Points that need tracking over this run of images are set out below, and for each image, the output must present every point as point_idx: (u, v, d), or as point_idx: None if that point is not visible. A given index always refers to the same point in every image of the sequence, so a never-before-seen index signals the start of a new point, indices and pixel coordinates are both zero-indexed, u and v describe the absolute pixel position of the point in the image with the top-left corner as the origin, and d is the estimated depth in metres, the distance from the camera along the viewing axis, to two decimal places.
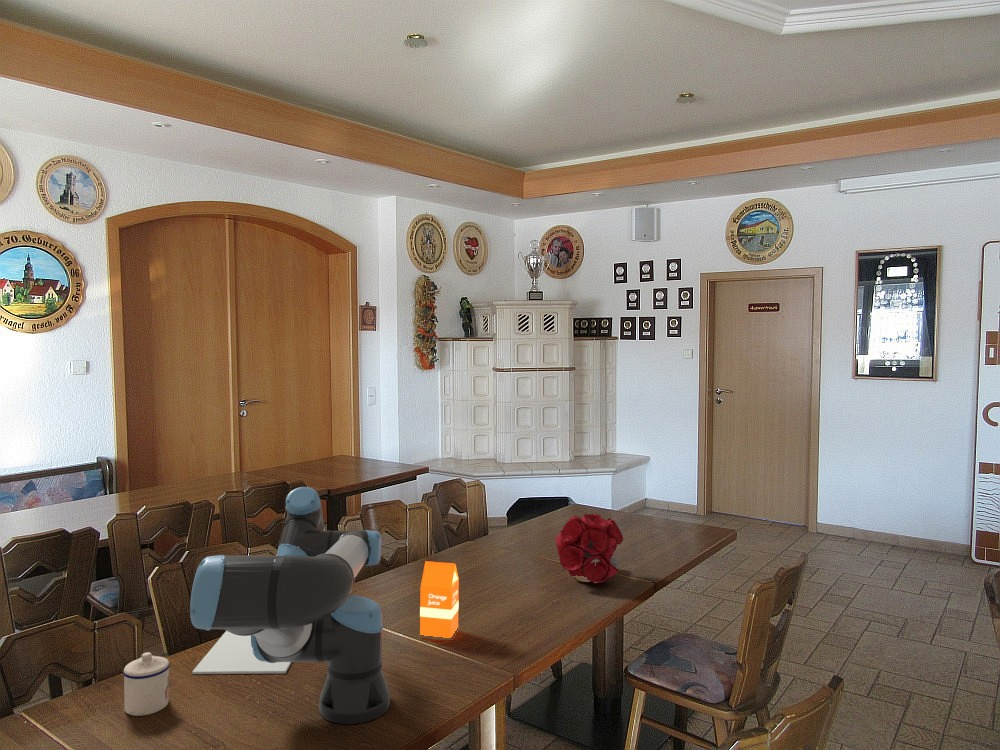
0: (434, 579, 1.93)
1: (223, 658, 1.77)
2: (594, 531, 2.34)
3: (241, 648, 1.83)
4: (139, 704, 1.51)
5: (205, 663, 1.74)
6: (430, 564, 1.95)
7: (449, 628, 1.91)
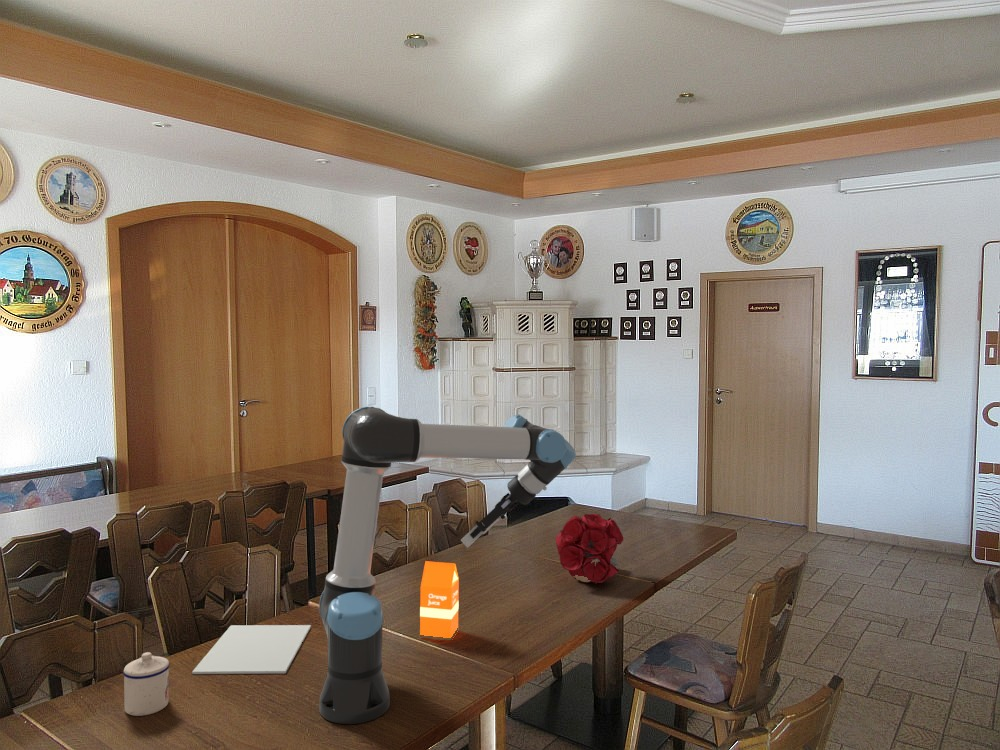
0: (434, 579, 1.93)
1: (223, 658, 1.77)
2: (594, 531, 2.34)
3: (241, 648, 1.83)
4: (139, 704, 1.51)
5: (205, 663, 1.74)
6: (430, 564, 1.95)
7: (449, 628, 1.91)
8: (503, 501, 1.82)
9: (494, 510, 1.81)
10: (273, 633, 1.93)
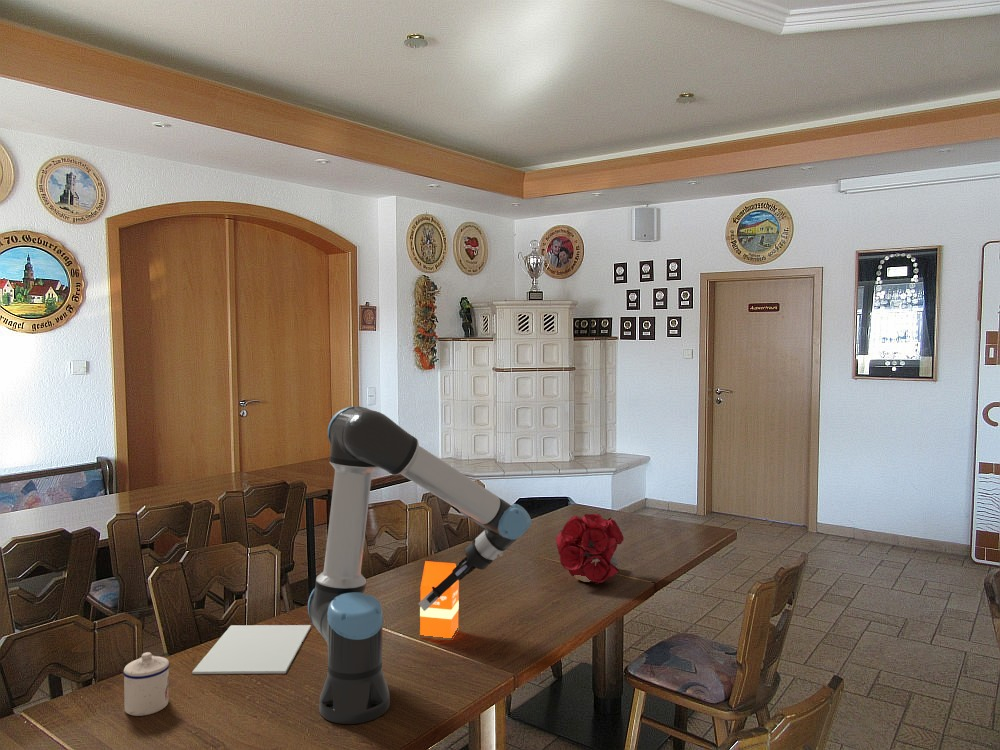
0: (434, 579, 1.93)
1: (223, 658, 1.77)
2: (594, 531, 2.34)
3: (241, 648, 1.83)
4: (139, 704, 1.51)
5: (205, 663, 1.74)
6: (430, 564, 1.95)
7: (449, 628, 1.91)
8: (456, 569, 1.86)
9: (448, 577, 1.87)
10: (273, 633, 1.93)
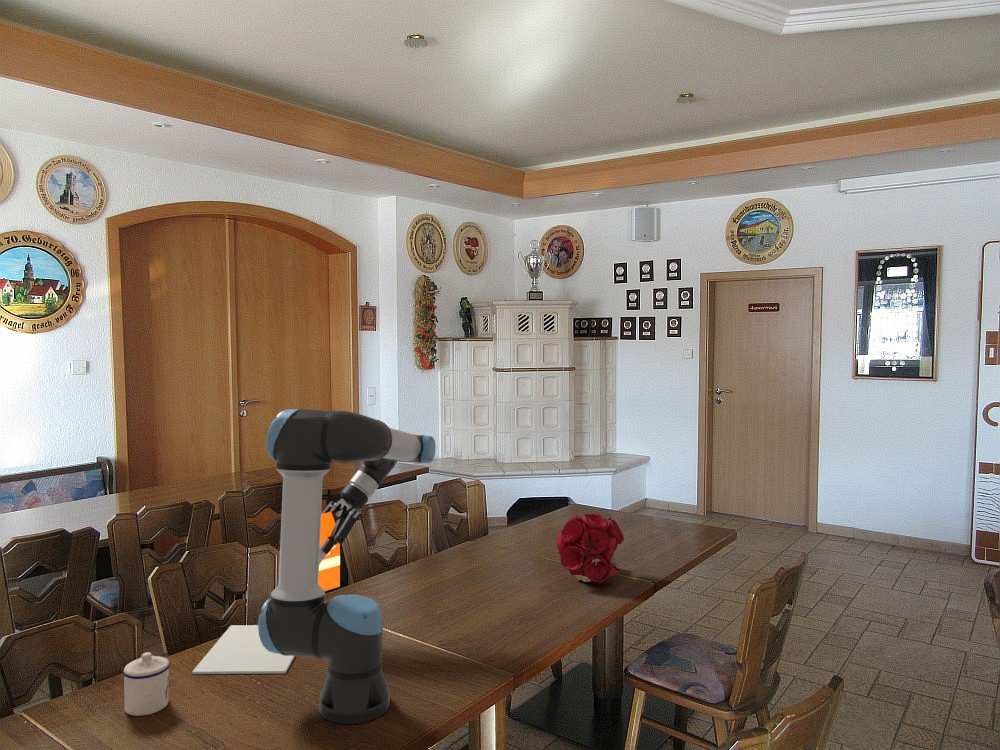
0: (321, 531, 1.91)
1: (223, 658, 1.77)
2: (595, 531, 2.34)
3: (241, 648, 1.83)
4: (139, 704, 1.51)
5: (205, 663, 1.74)
6: None
7: (338, 574, 1.94)
8: (355, 512, 1.93)
9: (348, 522, 1.92)
10: None
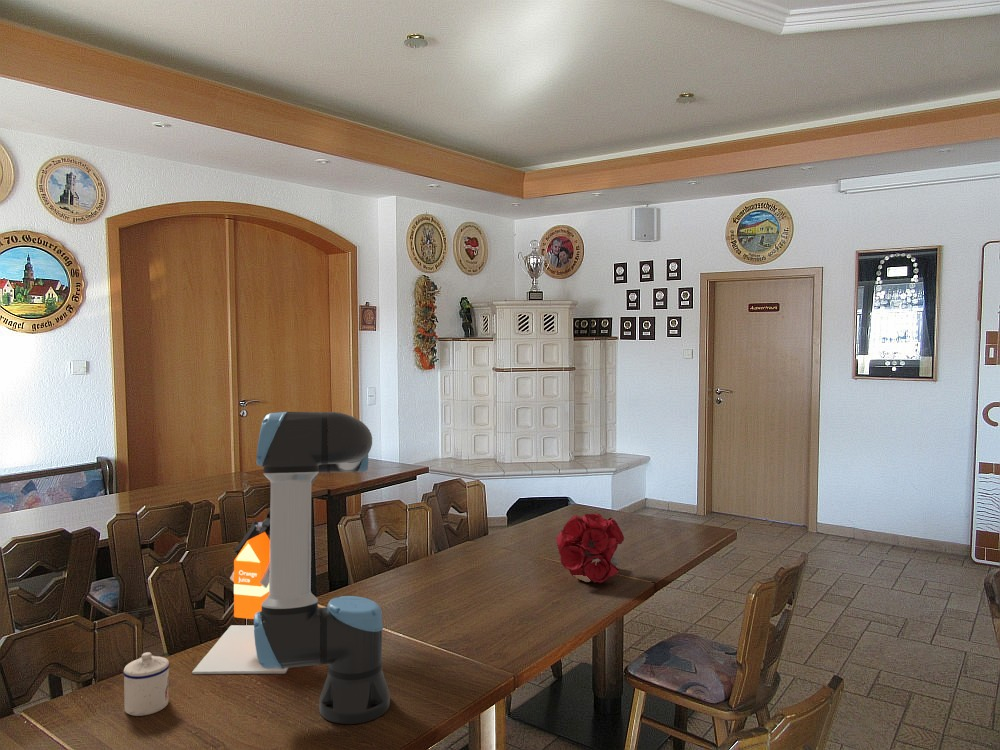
0: (264, 552, 1.83)
1: (223, 658, 1.77)
2: (595, 531, 2.35)
3: (241, 648, 1.83)
4: (139, 704, 1.51)
5: (205, 663, 1.74)
6: (252, 541, 1.81)
7: None
8: None
9: None
10: None
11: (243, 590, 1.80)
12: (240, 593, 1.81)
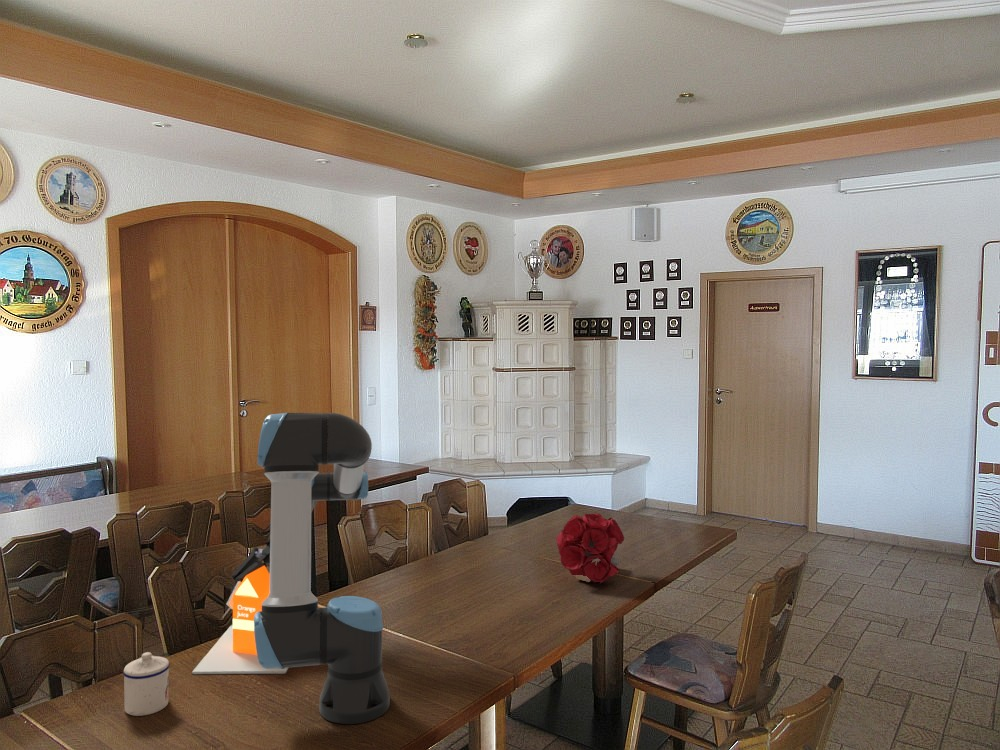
0: (262, 587, 1.83)
1: (223, 658, 1.77)
2: (595, 530, 2.35)
3: None
4: (139, 704, 1.51)
5: (205, 663, 1.74)
6: (250, 576, 1.81)
7: None
8: None
9: None
10: None
11: (242, 625, 1.80)
12: (239, 628, 1.81)
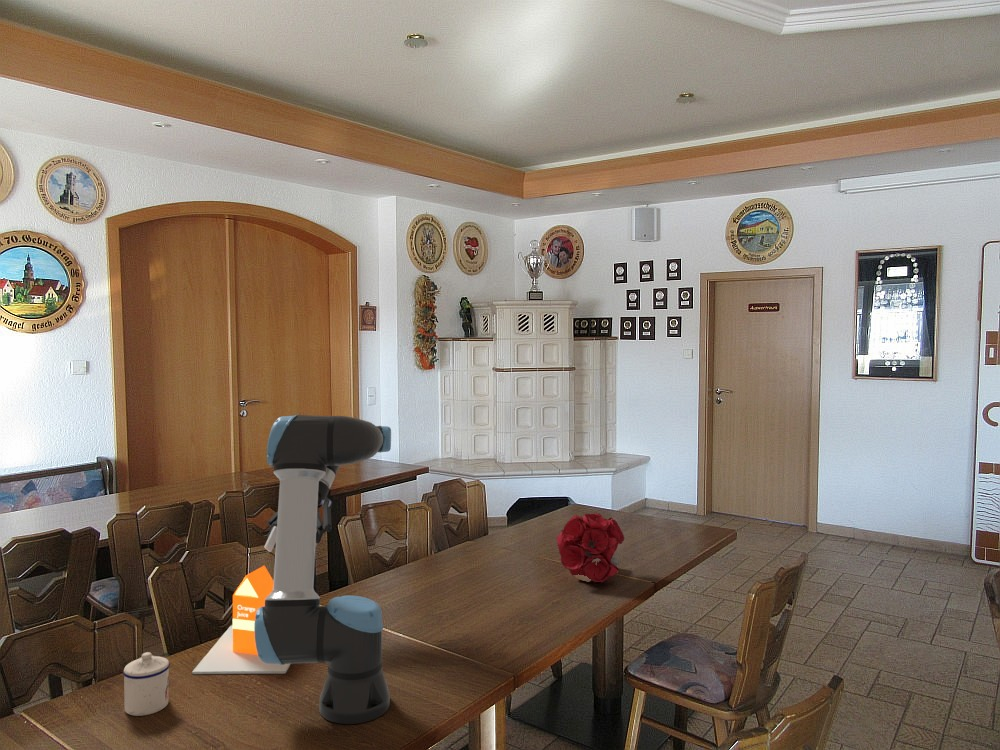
0: (262, 587, 1.83)
1: (223, 658, 1.77)
2: (595, 530, 2.35)
3: None
4: (139, 704, 1.51)
5: (205, 663, 1.74)
6: (250, 576, 1.81)
7: None
8: (328, 500, 2.00)
9: (327, 510, 1.98)
10: None
11: (242, 625, 1.80)
12: (239, 628, 1.81)
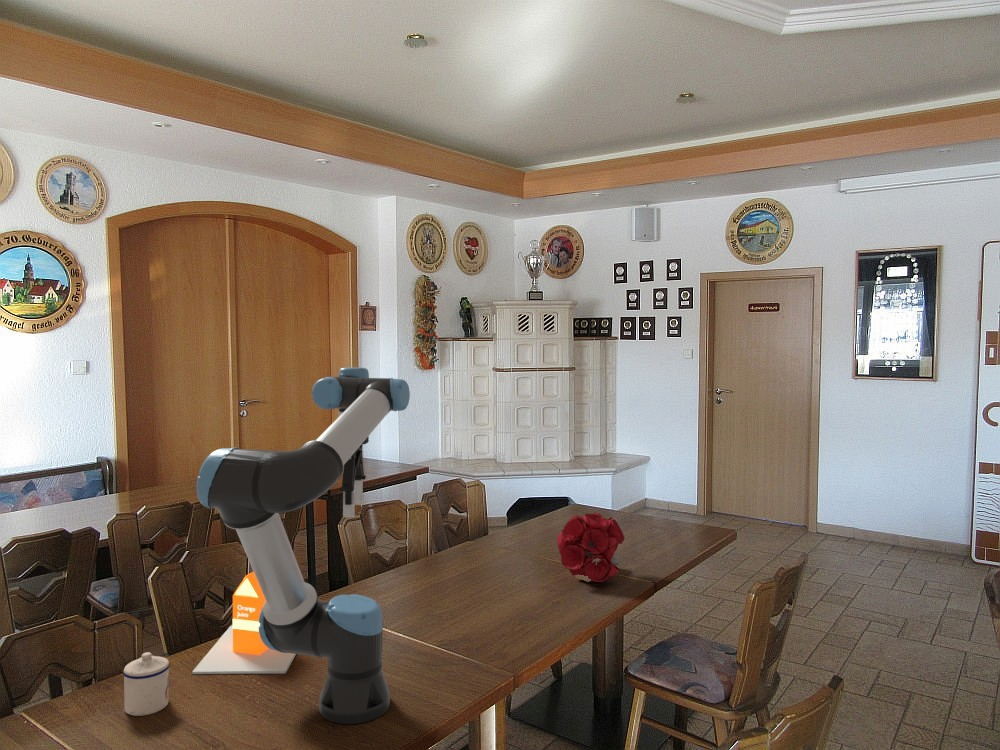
0: None
1: (223, 658, 1.77)
2: (595, 530, 2.35)
3: None
4: (139, 704, 1.51)
5: (205, 663, 1.74)
6: (250, 576, 1.81)
7: None
8: None
9: (345, 466, 1.74)
10: None
11: (242, 625, 1.80)
12: (239, 628, 1.81)
